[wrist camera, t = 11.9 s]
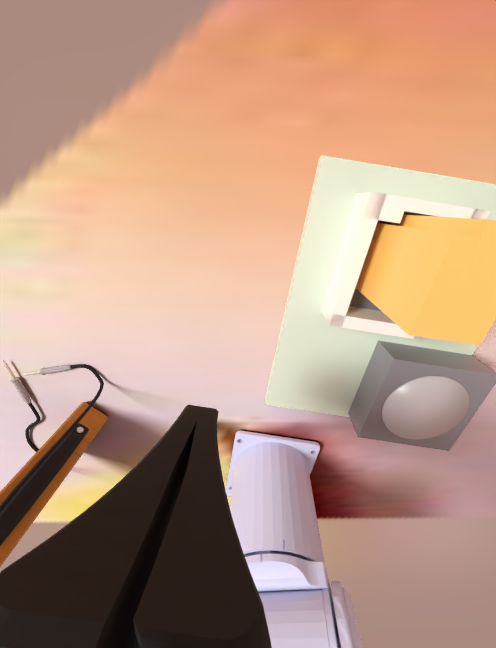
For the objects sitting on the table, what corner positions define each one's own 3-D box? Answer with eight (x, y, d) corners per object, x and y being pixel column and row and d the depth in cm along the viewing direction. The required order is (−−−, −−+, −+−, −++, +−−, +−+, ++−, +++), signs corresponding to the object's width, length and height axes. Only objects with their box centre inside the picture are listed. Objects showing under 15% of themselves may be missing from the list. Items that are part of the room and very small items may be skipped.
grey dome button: (429, 425, 22) (450, 452, 19) (348, 412, 22) (358, 438, 19) (472, 355, 19) (502, 377, 16) (377, 340, 19) (395, 360, 16)
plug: (397, 295, 17) (477, 348, 11) (353, 288, 17) (407, 338, 11) (428, 219, 15) (550, 228, 9) (378, 211, 15) (463, 215, 9)
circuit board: (421, 422, 23) (426, 429, 22) (265, 398, 22) (265, 404, 22) (554, 197, 15) (568, 196, 14) (319, 157, 15) (322, 155, 14)
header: (407, 325, 18) (425, 340, 16) (321, 312, 18) (329, 325, 16) (459, 210, 15) (490, 211, 13) (356, 193, 15) (371, 191, 13)
